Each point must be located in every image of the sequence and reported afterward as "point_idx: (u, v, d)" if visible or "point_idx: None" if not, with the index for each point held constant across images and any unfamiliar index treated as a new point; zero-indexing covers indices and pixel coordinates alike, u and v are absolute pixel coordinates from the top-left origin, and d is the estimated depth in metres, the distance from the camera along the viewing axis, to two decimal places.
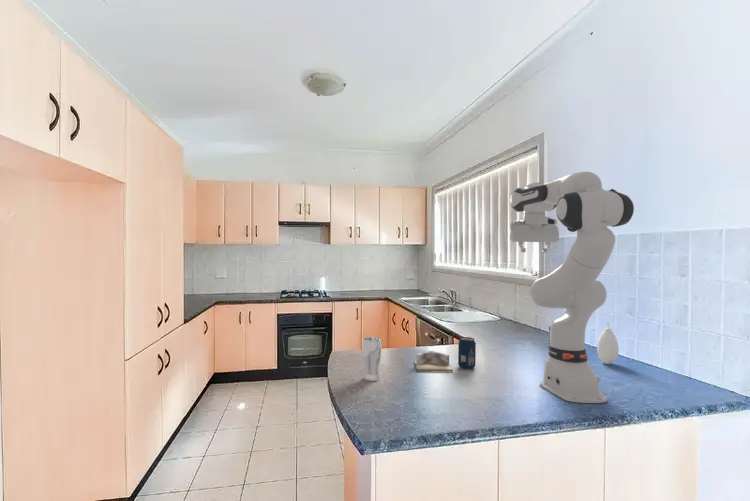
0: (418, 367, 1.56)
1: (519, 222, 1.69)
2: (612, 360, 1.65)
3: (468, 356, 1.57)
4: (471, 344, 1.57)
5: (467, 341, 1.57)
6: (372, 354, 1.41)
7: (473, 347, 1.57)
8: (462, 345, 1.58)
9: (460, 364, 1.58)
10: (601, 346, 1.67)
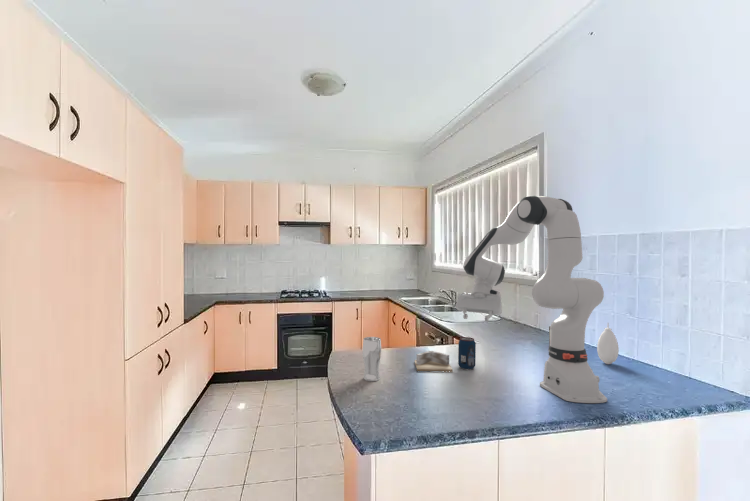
0: (418, 367, 1.56)
1: (466, 294, 1.82)
2: (612, 360, 1.65)
3: (468, 356, 1.57)
4: (471, 344, 1.57)
5: (467, 341, 1.57)
6: (372, 354, 1.41)
7: (473, 347, 1.57)
8: (462, 345, 1.58)
9: (460, 364, 1.58)
10: (601, 346, 1.67)
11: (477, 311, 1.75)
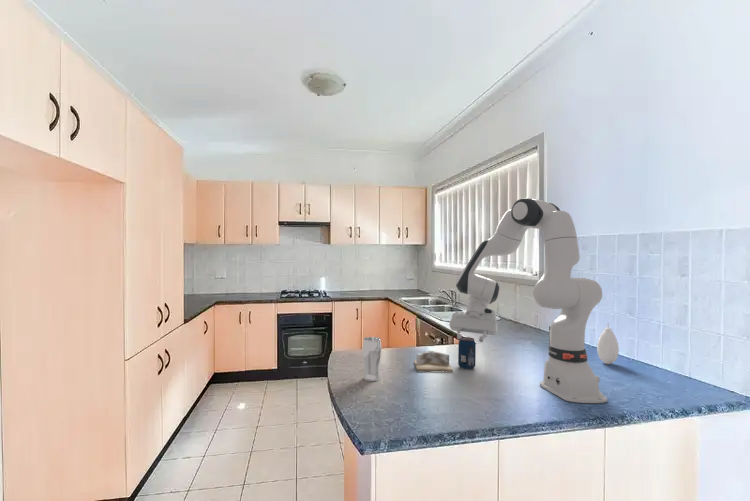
0: (418, 367, 1.56)
1: (460, 313, 1.75)
2: (612, 360, 1.65)
3: (468, 356, 1.57)
4: (471, 344, 1.57)
5: (467, 341, 1.57)
6: (372, 354, 1.41)
7: (473, 347, 1.57)
8: (462, 345, 1.58)
9: (460, 364, 1.58)
10: (601, 346, 1.67)
11: (471, 331, 1.68)
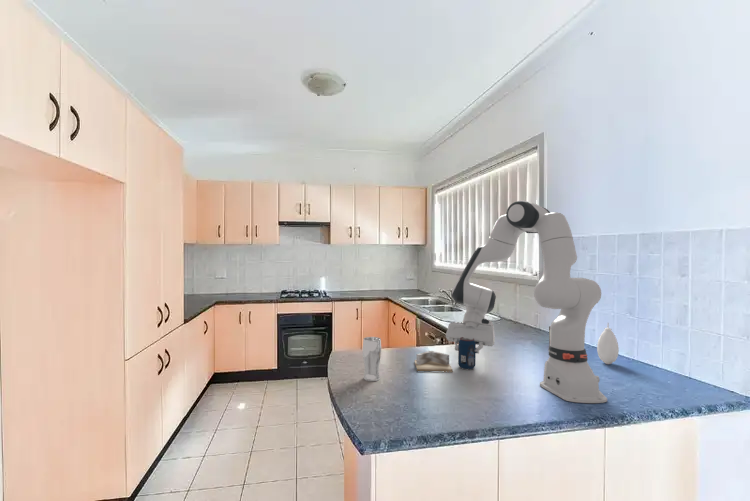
0: (418, 367, 1.56)
1: (457, 323, 1.71)
2: (612, 360, 1.65)
3: (468, 356, 1.57)
4: (471, 344, 1.57)
5: (467, 341, 1.57)
6: (372, 354, 1.41)
7: (473, 347, 1.57)
8: (462, 345, 1.58)
9: (460, 364, 1.58)
10: (601, 346, 1.67)
11: None
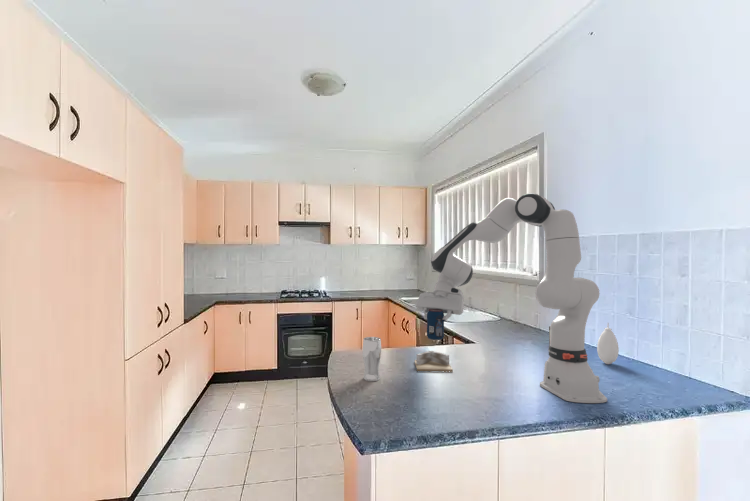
0: (418, 367, 1.56)
1: (428, 293, 1.70)
2: (612, 360, 1.65)
3: (436, 327, 1.56)
4: (439, 314, 1.57)
5: (435, 311, 1.57)
6: (372, 354, 1.41)
7: (441, 317, 1.57)
8: (430, 316, 1.57)
9: (428, 335, 1.58)
10: (601, 346, 1.67)
11: None
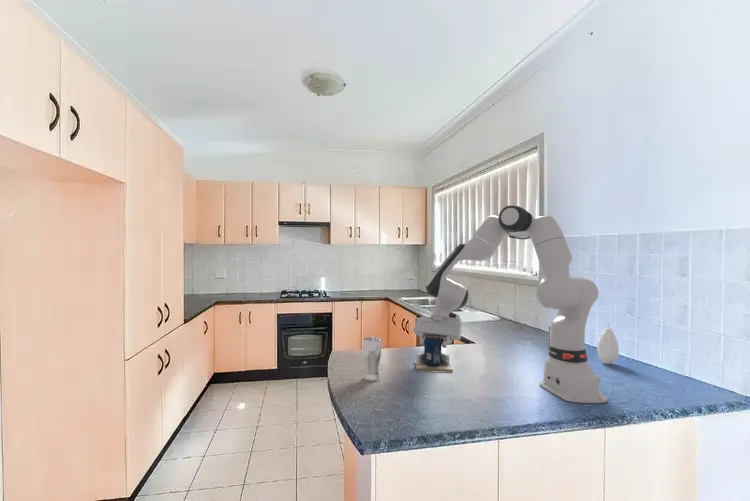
0: (418, 367, 1.56)
1: (426, 317, 1.70)
2: (612, 360, 1.65)
3: (434, 354, 1.56)
4: (437, 341, 1.56)
5: (432, 338, 1.56)
6: (372, 354, 1.41)
7: (438, 344, 1.57)
8: (428, 343, 1.57)
9: (426, 362, 1.58)
10: (601, 346, 1.67)
11: None
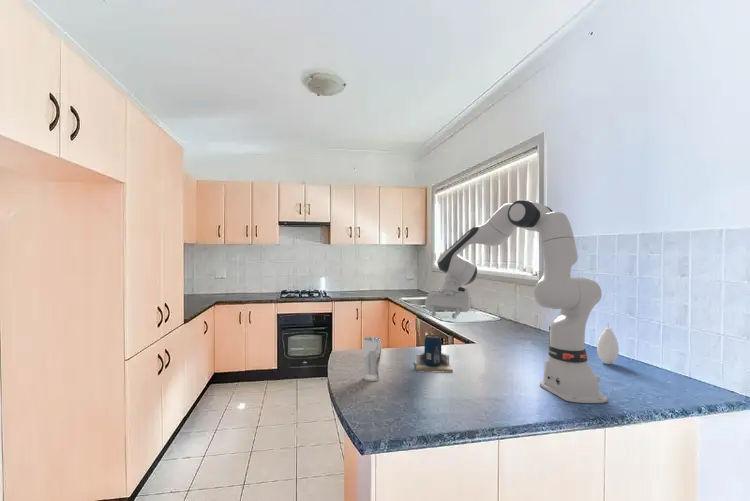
0: (418, 367, 1.56)
1: (436, 292, 1.81)
2: (612, 360, 1.65)
3: (434, 354, 1.56)
4: (437, 341, 1.56)
5: (433, 339, 1.56)
6: (372, 354, 1.41)
7: (439, 345, 1.57)
8: (428, 343, 1.57)
9: (426, 362, 1.58)
10: (601, 346, 1.67)
11: (445, 309, 1.74)
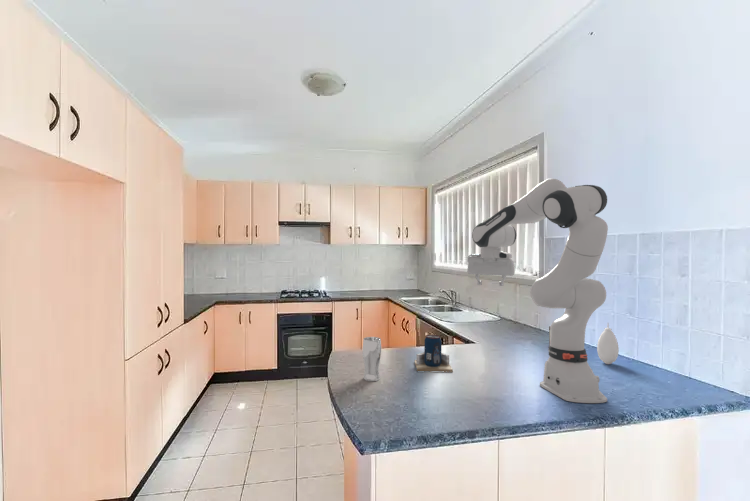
0: (418, 367, 1.56)
1: (475, 255, 1.76)
2: (612, 360, 1.65)
3: (434, 354, 1.56)
4: (437, 341, 1.56)
5: (433, 339, 1.56)
6: (372, 354, 1.41)
7: (439, 345, 1.57)
8: (428, 343, 1.57)
9: (426, 362, 1.58)
10: (601, 346, 1.67)
11: None
